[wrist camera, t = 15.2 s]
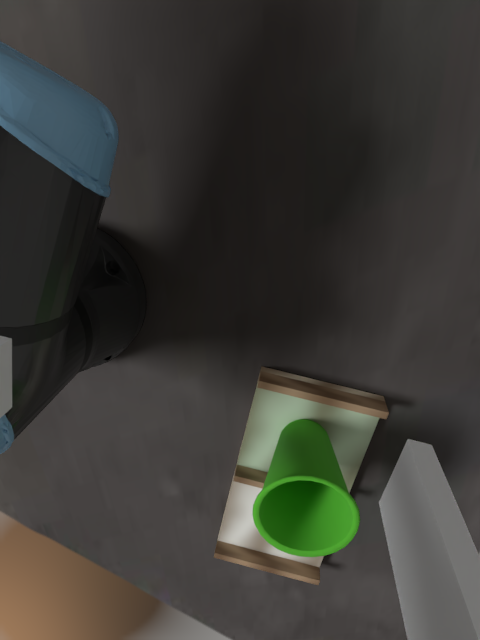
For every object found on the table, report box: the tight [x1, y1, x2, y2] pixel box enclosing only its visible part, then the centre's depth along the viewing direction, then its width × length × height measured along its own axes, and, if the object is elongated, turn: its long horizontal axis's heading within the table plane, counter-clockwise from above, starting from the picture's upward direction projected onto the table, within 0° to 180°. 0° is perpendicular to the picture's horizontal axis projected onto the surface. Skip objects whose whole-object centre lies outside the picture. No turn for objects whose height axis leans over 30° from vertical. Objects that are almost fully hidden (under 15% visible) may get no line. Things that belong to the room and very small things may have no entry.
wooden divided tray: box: [214, 367, 389, 585], centre depth 49 cm, size 13×26×3 cm, turn 168°
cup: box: [252, 419, 360, 557], centre depth 42 cm, size 9×9×11 cm
